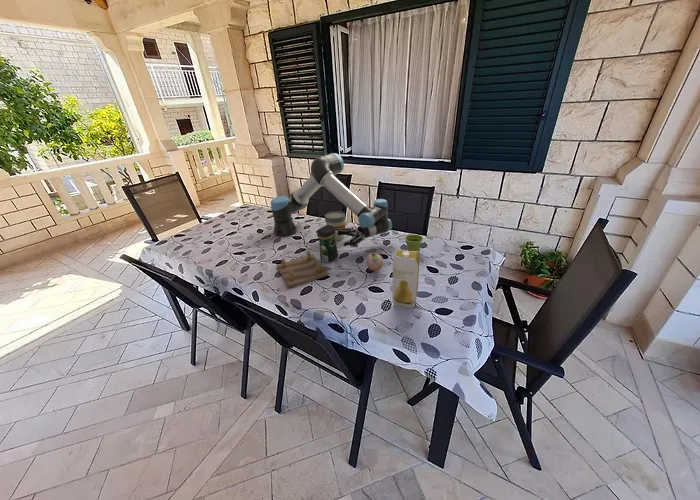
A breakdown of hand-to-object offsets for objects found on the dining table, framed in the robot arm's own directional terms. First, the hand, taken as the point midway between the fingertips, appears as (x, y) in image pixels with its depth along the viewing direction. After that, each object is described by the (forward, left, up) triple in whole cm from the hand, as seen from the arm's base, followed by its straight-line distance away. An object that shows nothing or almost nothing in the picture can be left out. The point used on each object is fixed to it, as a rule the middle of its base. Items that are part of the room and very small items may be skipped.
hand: (331, 240), depth 142 cm
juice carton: (+50, +9, -11) cm, 52 cm away
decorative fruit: (+23, +12, -11) cm, 28 cm away
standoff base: (+3, -19, -10) cm, 22 cm away
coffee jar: (-1, -2, -11) cm, 11 cm away
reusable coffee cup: (-23, +13, -11) cm, 28 cm away
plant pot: (+19, +39, -11) cm, 44 cm away
